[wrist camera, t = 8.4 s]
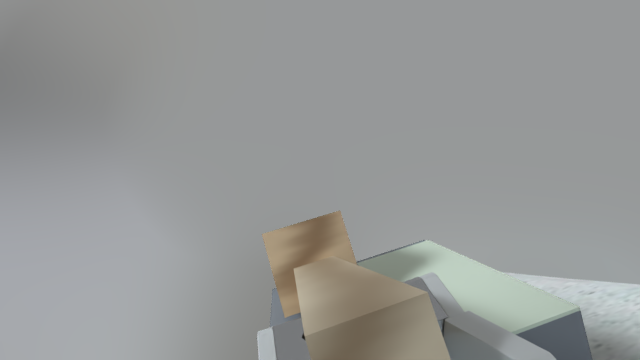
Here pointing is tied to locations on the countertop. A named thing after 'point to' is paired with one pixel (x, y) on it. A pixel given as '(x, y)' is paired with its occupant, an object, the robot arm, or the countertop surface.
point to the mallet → (348, 298)
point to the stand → (483, 297)
